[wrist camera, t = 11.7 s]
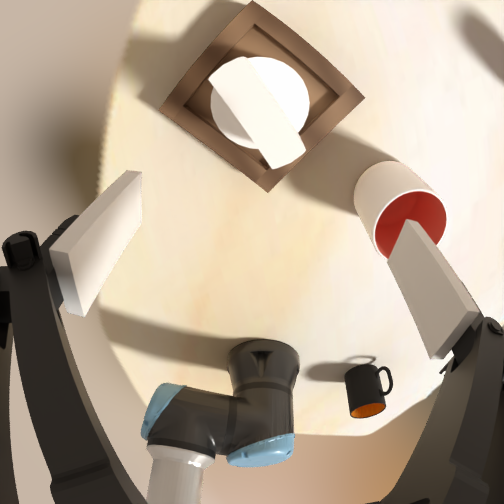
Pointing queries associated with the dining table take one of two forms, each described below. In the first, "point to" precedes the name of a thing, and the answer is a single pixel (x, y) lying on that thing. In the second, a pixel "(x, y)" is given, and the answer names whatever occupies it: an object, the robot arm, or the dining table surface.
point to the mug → (366, 390)
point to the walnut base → (271, 46)
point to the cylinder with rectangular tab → (261, 107)
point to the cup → (397, 205)
